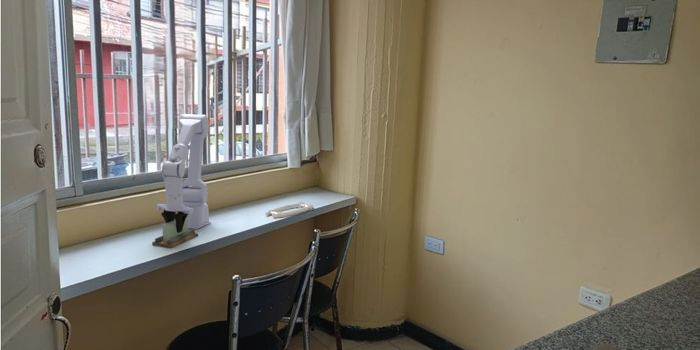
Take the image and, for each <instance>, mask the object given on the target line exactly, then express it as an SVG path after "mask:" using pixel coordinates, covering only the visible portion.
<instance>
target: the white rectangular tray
mask: <svg viewBox="0 0 700 350" xmlns="http://www.w3.org/2000/svg"><path fill="white" fill-rule="evenodd" d="M296 207H298V208H299V209H298V208H297V209H296ZM300 207H301V208H300ZM291 208H292V209H293V210H291ZM313 208H314V205H312V204H311V203H310V204H306V203H305V202H302V201H301V202H296V203H291V204H286V205H282V206H279V207H278V206H277V207H276V208H273V209H268V211H266V212H264V213H265V216H266V217H269V216H272V218H274V219H280V218H287V217H290V216H291V217H292V216H295V214H296V215H299V214H302V212H303V213H305V212H308V211H312V209H313ZM287 210H290V211H287ZM282 211H285V212H282Z"/></svg>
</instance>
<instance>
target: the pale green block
mask: <svg viewBox="0 0 700 350" xmlns="http://www.w3.org/2000/svg"><path fill="white" fill-rule="evenodd" d="M188 231H189V228H188V219H187V218H186V220H185V222H184V225H183V230H182V232H179V233H177V229H176V221H175V220H174V221H171V222H168V223H166V222H165V223H164V224H162V235H163V241H166V242H167V240H169V239H172V238H174V237H176V236H179V235H181V234H183V233H185V232H188Z"/></svg>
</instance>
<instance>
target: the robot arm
mask: <svg viewBox="0 0 700 350" xmlns="http://www.w3.org/2000/svg"><path fill="white" fill-rule="evenodd" d="M178 125H179V130H180V132H179V136H178V139H177V144H174V145H173V146H172V148H171V151H170V154H169V156H168V159H167V160H166V161H165V162H163V163H162V167H161V176H162V178H163V183H165V184H164V185H165V203H157V204H156V208H155V209H156V211H162V212H161V217H163V219H164V221H165V224H166V223H168V222H171V221H174V220H175V221H176V229H177V233H179V232H182V230H183V225H184V222H185V220H186V218H187V219H188V229H195V230H198V229H200V228H202V227H205V226H207V225H210V224H211V221H210V218H209V217H210V214H209V212H210V211H209V210H210V209H209V206H208V204H207V201H208V198H209V193H208V184H207V183H206V182H205V181H203V180H202V165H203V164H202V163H203V150H204V149H203V148H204V142H205V141H204V139H206V137H208V134H209V127H210V126H209V125H210V122H209V118H208V116H207V115H206V114H193V113H192V114H187V113H182V114H180V115H179V117H178ZM188 146H189V149H188ZM188 154H189V157H188ZM187 158H189V159H188V171H187V179H186V180H184V181H183V178H184V175H185V173H186V160H187Z"/></svg>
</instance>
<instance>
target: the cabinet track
mask: <svg viewBox="0 0 700 350" xmlns="http://www.w3.org/2000/svg"><path fill="white" fill-rule="evenodd" d="M198 236H199V233H198V232H196V229H193V228H191V229H190V230H188V232H185V233H183V234H181V235H179V236H176V237H174V238H172V239H169V240H167V242H166V241H163V234H162V235H160V236H158V237H156V238H154V241H152V242H151V244H152V246H156V247H161V248H169V249H173V248H175V247H177V246H179V245H181V244H184V243H185V242H188V241H190V240H192V239H194V238H197V237H198Z"/></svg>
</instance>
